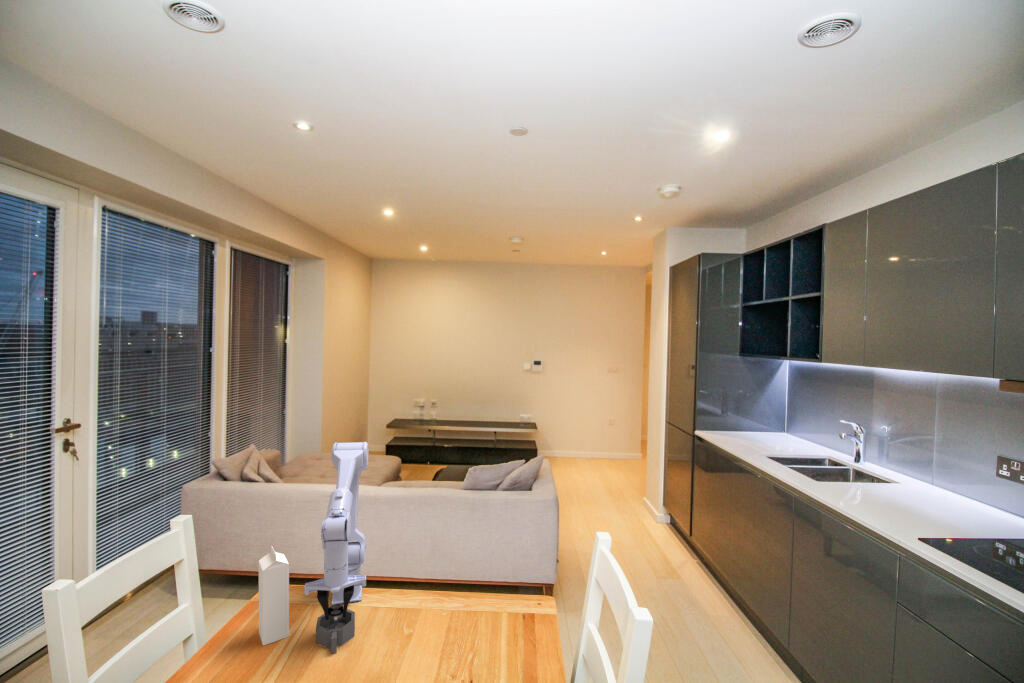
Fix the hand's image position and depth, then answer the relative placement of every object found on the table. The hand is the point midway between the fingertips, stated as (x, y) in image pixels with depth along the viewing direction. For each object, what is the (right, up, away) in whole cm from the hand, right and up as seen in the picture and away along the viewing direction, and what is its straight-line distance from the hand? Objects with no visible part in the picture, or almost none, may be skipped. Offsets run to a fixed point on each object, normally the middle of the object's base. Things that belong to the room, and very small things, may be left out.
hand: (335, 616), depth 119 cm
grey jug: (0, -5, -1) cm, 5 cm away
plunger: (0, -4, 0) cm, 4 cm away
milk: (-16, -5, 0) cm, 16 cm away
